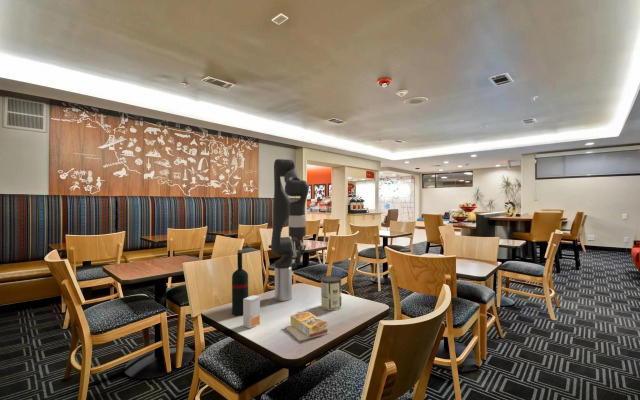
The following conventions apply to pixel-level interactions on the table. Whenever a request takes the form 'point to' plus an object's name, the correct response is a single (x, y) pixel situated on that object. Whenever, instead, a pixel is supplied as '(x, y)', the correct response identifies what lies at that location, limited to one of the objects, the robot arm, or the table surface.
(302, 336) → the mat
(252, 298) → the skincare box
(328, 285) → the coffee can
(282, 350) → the table surface
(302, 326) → the candy box
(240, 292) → the wine bottle
